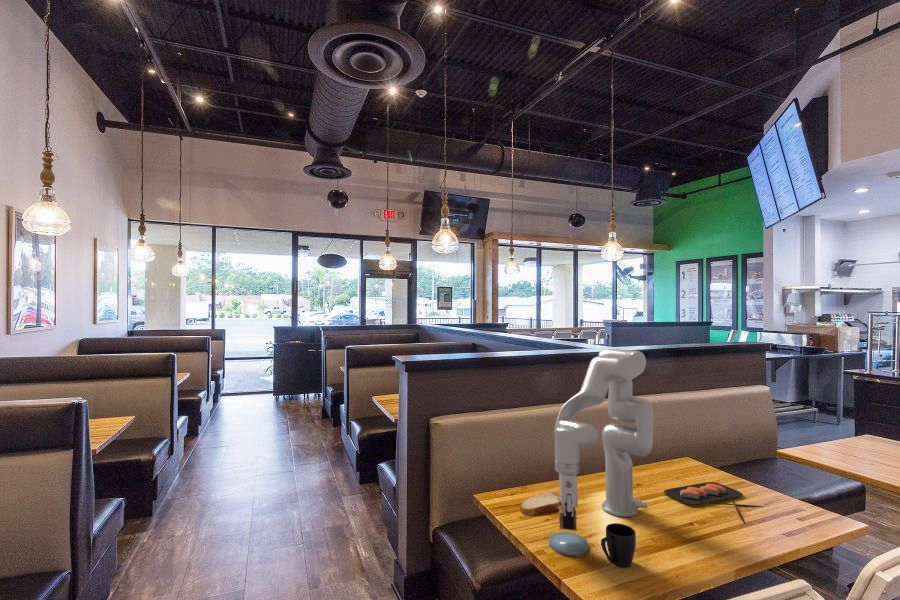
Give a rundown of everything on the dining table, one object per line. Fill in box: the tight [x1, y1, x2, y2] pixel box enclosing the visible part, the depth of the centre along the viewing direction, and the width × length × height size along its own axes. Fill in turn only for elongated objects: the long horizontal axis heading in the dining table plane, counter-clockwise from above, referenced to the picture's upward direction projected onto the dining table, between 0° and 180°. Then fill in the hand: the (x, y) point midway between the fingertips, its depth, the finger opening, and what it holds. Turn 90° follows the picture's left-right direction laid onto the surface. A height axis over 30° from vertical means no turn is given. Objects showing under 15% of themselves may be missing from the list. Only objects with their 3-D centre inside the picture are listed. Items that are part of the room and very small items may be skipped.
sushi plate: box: [663, 481, 765, 525], centre depth 165 cm, size 29×30×4 cm
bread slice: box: [519, 491, 562, 517], centre depth 163 cm, size 18×18×4 cm
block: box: [558, 506, 578, 531], centre depth 136 cm, size 5×5×5 cm
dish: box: [548, 531, 589, 557], centre depth 136 cm, size 12×12×1 cm
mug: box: [600, 522, 637, 569], centre depth 126 cm, size 8×12×10 cm
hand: (567, 523), depth 136 cm, fingers closed on block, 4 cm apart
